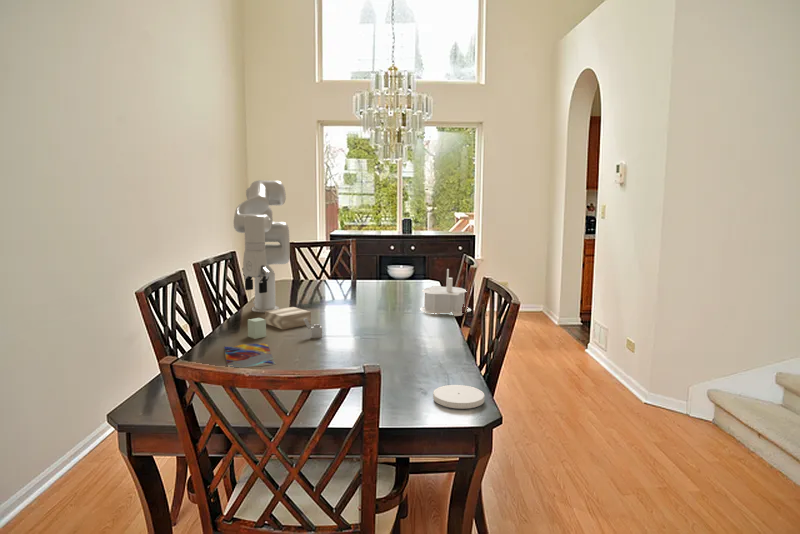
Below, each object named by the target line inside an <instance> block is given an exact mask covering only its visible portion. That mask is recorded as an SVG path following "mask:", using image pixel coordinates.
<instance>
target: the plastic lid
mask: <svg viewBox="0 0 800 534" xmlns="http://www.w3.org/2000/svg"><path fill="white" fill-rule="evenodd" d="M432 396H433V397H432V399H433V401H434V402H435V403H437V404H439V405H440V406H442V407H445V408H453V409H457V410H458V409H462V410H463V409H465V410H466V409H473V408H476V407H477V408H479V406H482V405H483V404H484V403H485V393H484V392H483V391H482V390H480V389H479V388H477V387H473V386H470V385H464V384H463V385H462V384H447V385H442V386H439V387H437V388H435V389H434V390H433V393H432Z"/></svg>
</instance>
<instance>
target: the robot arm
mask: <svg viewBox="0 0 800 534" xmlns="http://www.w3.org/2000/svg"><path fill="white" fill-rule="evenodd" d="M286 195H287V194H286V190H285V185H284V184H283V182H282V181H280V180H269V179H268V180H264V179H263V180H261V179H260V180H259V179H258V180H255V181H253V182H252V183H251V184H250V187H247V188H246V190H245V197H246V200H244V201H243V202H241V203H240V204H239V205H238V206H237V207H236V208H235V212H234V216H233V228H234V230H235V231H236V233H241V234H244V252H243V262H242V264H243V265H242V268H241V269H242V274H243V278H244V279H243V280H244V290H245V291H251V290H253V289H254V300H253V301H252V304H254V306H253V307H252V308H251V311H252V312H255V313H265V311H269V310H275V309H280V307H279V305H276V273H275V271H274V269H273V268H272V267H271V266H270V265H287V264H288V263H289V262H290V257H291V253H290V252H291V250H290V249H291V248H290V247H291V246H290V245H291V243H290V229H289V225H288V224H287V223H286V222H285V221H274V220H273V210H272V208H271V206H283V205H284V204H285V203H286V199H287V196H286ZM270 243H271V244H270ZM273 243H277V244H273ZM278 243H279V244H278ZM253 278H254V279H253Z"/></svg>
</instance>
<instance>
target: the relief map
mask: <svg viewBox="0 0 800 534" xmlns="http://www.w3.org/2000/svg"><path fill="white" fill-rule="evenodd" d="M223 349H224V355H225V360H226V366H227V365H233V366H230V367H239V368H238V369H241V368H251V367H253V368H254V367H262V366H274V365H276V362H275V359H274V356H273V355H272V352H271V349H270V347H269V344H268V342H262V343H243V344H238V345H233V346H224V347H223Z"/></svg>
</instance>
